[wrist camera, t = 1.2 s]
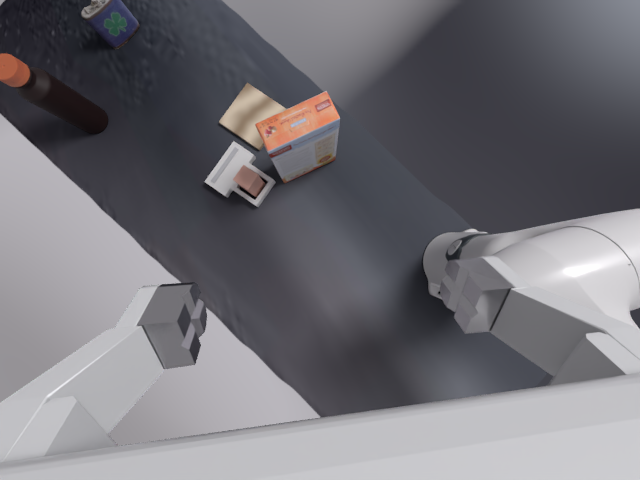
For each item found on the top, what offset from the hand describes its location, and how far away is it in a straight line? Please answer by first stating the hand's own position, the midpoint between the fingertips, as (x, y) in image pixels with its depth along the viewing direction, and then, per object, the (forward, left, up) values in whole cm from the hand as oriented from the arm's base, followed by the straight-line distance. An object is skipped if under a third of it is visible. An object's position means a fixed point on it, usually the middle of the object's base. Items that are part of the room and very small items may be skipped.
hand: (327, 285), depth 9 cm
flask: (+73, -18, -58) cm, 95 cm away
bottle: (+66, +4, -58) cm, 88 cm away
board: (+34, -19, -58) cm, 70 cm away
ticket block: (+24, -5, -58) cm, 63 cm away
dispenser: (+27, -5, -58) cm, 64 cm away
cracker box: (+17, -17, -58) cm, 63 cm away
